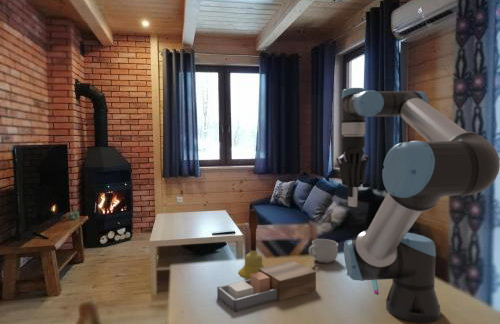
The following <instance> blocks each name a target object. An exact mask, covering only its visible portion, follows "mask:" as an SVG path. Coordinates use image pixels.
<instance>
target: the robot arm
mask: <svg viewBox="0 0 500 324" xmlns="http://www.w3.org/2000/svg"><path fill="white" fill-rule="evenodd" d="M340 100H341V101H340V102H341V148H342V152H341V155H340V156H338V157H336V159H335V160H336V162H337V164H338V168H339V173H340V179H341V184H342V186H344V187H346V190H347V191H346V196H347V206H349V207H353V208H357V207H358V196H359V188H361V187H362V185H363V184H364V181H365V175H366V171H367V170H366V169H367V166H368V165H367V164H368V162H369V160H370V157H369V155H366V154H365V151H364V148H365V147H366V137H365V136H364V135H366V117H367V118H369V117H370V118H371V117H400V118H401V119H402V120H404V122H405V123H406V124H408V125H409V126H410V127H411V128H412V129H413V130H415V131H416V132H417V133H418V134H419V135H420V136H421V137H422V138H423V139H424V140H425V141H422V140H411V141H407V142H406V141H405V142H399V143H397V144H395V145H394V146H392V147H391V148H390V149H389V150H388V152H387V153H386V156H385V158H384V161H383V164H382V165H383V168H382V174H381V176H382V182H383V186H384V188H385V190H386V192H387V193H386V195H385V197H384V199H383V201H382V202H381V204H380V206H379V208H378V210H377V211H376V213H375V216H374V218H373V219H372V221H371V223H370V224H369V226H368V228H367V229H366V230H363V231H362V232H360V233H359V234H358V235H357V237H356V239H353V240H352V239H349V240H345V242H344V245H343V258H344V263H345V264H344V265H345V268H346V269H345V270H346V271H347V272H348V274H349V275H348V276H349V278H350V279H351V280H353V281H360V282H361V281H362V282H364V281H373V280H376V281H380V280H392V283H391V285H390V289H389V291H388V294H387V296H386V299H385V308H386V310H387V312H388V313H390V314H391V315H393V316H394V317H396V318H399V319H402V320H405V321H408V322H414V323H432V322H435V321H438V320H439V319H440V318H441V305H440V303H439V300H438V295H437V292H436V289H435V284H436V283H435V280H436V277H435V276H436V257H437V253H436V245H435V242H434V240H432V239H430V238H428V237H426V236H425V235H420V234H417V233H412V232H409V231H410V230H411V228H412V227H413V225H414V223H415V222H416V221H417V219H418V218H419V216H420V215H421V214H422V213H423V212H428V211H430V210H431V209H433V208H434V207H435V206H436V205H437V204H438V202H439V201H440V200H441V198H443V197H446V196H447V197H449V196H450V197H451V196H453V197H454V196H469V195H470V196H471V195H476V194H478V193H481V192H483V191H485V190H487V188H489V187H490V186H491V185H492V184H493V183H494V181H495V180H496V179H497V178H498V175H499V173H500V172H499V171H500V156H499V153H498V151H497V150H496V148H495V146H494V145H493V144H492V143H491V142H489V140H487V139H486V138H485V137H483V136H482V135H480V134H479V133H477V132H474V131H466V130H465V129H464V128H462V127H461V126H459V125H458V124H457V123H456V122H454V121H452V120H451V119H450V118H448V117H447V116H446V115H444V114H443V113H442V112H440V111H438V110H437V109H436V108H434V107H433V106H431V105H430V103H429V97H428V96H427V94H426V93H425V91H418V90H417V91H416V90H403V91H402V90H399V91H397V90H396V91H393V90H392V91H391V90H389V91H383V90H382V91H379V90H377V91H376V90H374V89H371V90H370V89H369V90H368V89H365V88H364V87H348V88H345V89H343V90H342V92H341V98H340Z"/></svg>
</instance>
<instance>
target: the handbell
mask: <svg viewBox="0 0 500 324" xmlns="http://www.w3.org/2000/svg"><path fill="white" fill-rule="evenodd" d="M248 228H249V232H250V251H249V252H248V253H247V254H246V255H245V257H244V265H243V266H242V267H241V268H240V269H239V270H238V273H237V274H239V275H240V276H241V278H242V277H243V278H244V279H245V278H246V280H248V279H250V274H252V273H257V272H259V269H260V268H264V267H265V266H264V264H263V256H262V254H261V253H259V252H258V251H257V229H258V214H257V210H256V209H254V208H252V209H250V210H249V216H248ZM239 275H238V276H239ZM240 276H239V277H240Z"/></svg>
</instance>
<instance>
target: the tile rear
mask: <svg viewBox="0 0 500 324" xmlns="http://www.w3.org/2000/svg"><path fill="white" fill-rule="evenodd" d="M250 285H251V286H252V287H253V293H254V294H257V293H260V292H264V291H268V290H270V277H268V276H267V275H265V274H263V273H262V272H257V273H252V274H250Z"/></svg>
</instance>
